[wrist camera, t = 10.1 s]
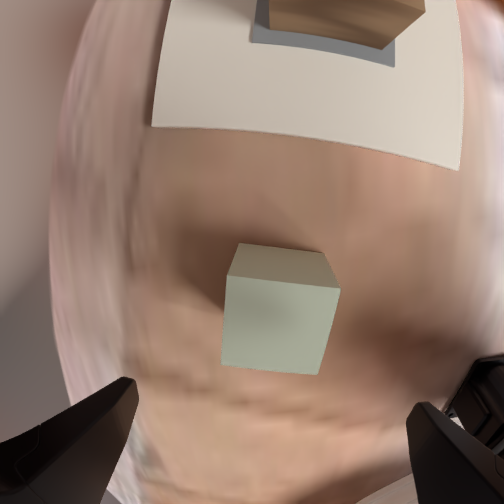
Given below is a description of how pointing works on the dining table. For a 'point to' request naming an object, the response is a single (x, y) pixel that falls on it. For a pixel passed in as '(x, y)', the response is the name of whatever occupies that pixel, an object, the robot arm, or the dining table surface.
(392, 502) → the plate stack
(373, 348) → the dining table surface
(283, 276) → the sage block
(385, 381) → the dining table surface
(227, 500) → the dining table surface
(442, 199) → the dining table surface
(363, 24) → the walnut block
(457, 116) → the off-white flat square slab
